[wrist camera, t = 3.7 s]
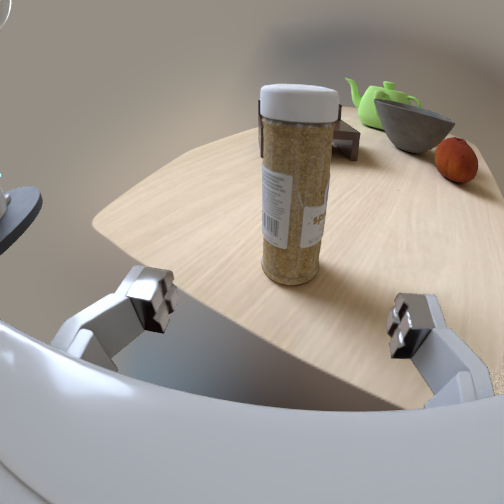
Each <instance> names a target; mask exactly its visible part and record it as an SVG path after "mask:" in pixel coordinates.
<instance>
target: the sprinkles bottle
mask: <svg viewBox="0 0 504 504" xmlns="http://www.w3.org/2000/svg"><path fill="white" fill-rule="evenodd" d="M260 96H261V97H260V114H261V115H262V116H263V119H262V122H263V125H264V128H263V137H264V142H263V144H264V147H263V148H264V151H263V156H264V159H263V163H262V232H263V235H264V237H263V240H264V241H263V257H262V261H261V265H262V269H263V271H264V273H265V274H266V275H267V276H268V277H269V278H270V279H272V280H273V281H275V282H278V283H282V284H286V285H298V284H302V283H304V282H308V281H309V280H311V279H312V278H313V277H314V276H315V275H316V273H317V272H318V269H319V261H318V260H319V253H320V247H321V238H322V236H323V231H324V224H325V215H326V206H327V198H328V190H329V181H330V164H331V152H332V142H333V141H332V140H333V131H334V127H335V125H336V124H335V123H334V121H336V120H337V119H338V111H339V94H338V92H337V91H335V90H333V89H328V88H324V87H319V86H311V85H299V84H274V85H266V86H263V87H262V88H261V95H260Z"/></svg>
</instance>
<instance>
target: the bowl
mask: <svg viewBox="0 0 504 504" xmlns="http://www.w3.org/2000/svg"><path fill="white" fill-rule="evenodd" d="M374 103H375V106H376V109H377V112H378V115H379V118H380V121H381V124H382V126H383V128H384V130H385V132H386V134H387V136H388V138H389V139H390V141H391V142H392V143H393V144H394V145H395V146H396V147H397V148H399V149H401V150H404V151H407V152H412V153H423V152H426V151H428V150H431V149H433V148H434V147H436V146H437V145H438V144H439V143H441V142H442V141H443V140H444V138H445V137H446V136H447V135H448V133H449V132H450V131H451V130H452V128H453V127H454V125H455V123H454V122H453V121H452V120H450V119H448V118H446V117H444V116H443V115H440V114H438V113H435V112H431V111H429V110H425V109H422V108H418V107H415V106H411V105H407V104H404V103H400V102H395V101H391V100H384V99H374Z"/></svg>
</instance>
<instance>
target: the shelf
mask: <svg viewBox="0 0 504 504" xmlns="http://www.w3.org/2000/svg"><path fill="white" fill-rule="evenodd" d="M258 105H259V106H258V115H259V117H258V118H259V119H258V120H259V146H260V154H261V157H264V156H263V151H264V148H263V147H264V144H263V142H264V137H263V128H264V125H263V122H262V119H263V116H262V115H261V114H260V100H258ZM341 108H342V105H340V104H339V111H338V119H337V120H336V121H334V123H335V124H336V125H335V127H334V131H333V140H332V141H333V143H334V144H335V145H336V146H337V147H338V148H339V149H340V150H341V151H342V152H343V153H344V154H345V155H346V156H347V157H348V158H349V159H350V160H351V161H357V156H358V148H359V139H360V132H358V131H357V130H355V129H354V128H352V127H351V126H350V125H348V124H347V123H345V122H344V121H342V120H341Z"/></svg>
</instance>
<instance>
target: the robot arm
mask: <svg viewBox="0 0 504 504" xmlns="http://www.w3.org/2000/svg"><path fill="white" fill-rule="evenodd" d="M10 7H11V0H0V30H1V29H2V27H3V26H4V24H5V22H6V20H7V17H8V15H9V12H10ZM0 176H1V175H0ZM10 200H11V197H10V195H9V194H6V195H4V193H3V191H2V189H1V186H0V219H1V218H2V217H3V215H4V214H5V212H6V210H7V204H8V203H9V202H10ZM173 280H174V276H173V272H172V271H170V270H165V269H158V268H152V267H144V266H138V265H135V266H133V267H132V269H131V270H130V271H129V273H128V274H127V276H126V277H125V279H124V280H123V282H122V283H121V285H120V286H119V288H118V289H117V291H116V292H115V294H112V293H111V294H109V295H107V296H106V297H104V298H103V299H101V300H99V301H97V302H96V303H94V304H92V305H90V306H89V307H87V308H85V309H84V310H82V311H80V312H79V313H77V314H75V315H74V316H72V317H70V318H69V319H67V320H65V321H64V323H63V324H62V326H61V328H60V329H59V331H58V332H57V334H56V335H55V337H54V339H53V340H52V342H51V343H50V345H48V344H46V343H44V342H42V341H40V340H38V339H36V338H34V337H32V336H30V335H28V334H26V333H24V332H22V331H20V330H18V329H17V328H15V327H13V326H11V325H9V324H8V323H6V322H4V321H2V320H1V319H0V504H504V394H501V395H497V396H495V394H494V389H493V385H492V381H491V377H490V374H489V370H488V367H487V366H486V365H485V364H484V363H483V361H482V360H481V359H480V358H479V357H478V356H477V355H476V354H475V353H474V352H473V351H472V350H471V349H470V348H469V346H468V345H467V344H466V343H465V342H464V341H463V340H462V339H461V338H460V337H459V336H458V335H457V334H456V333H455V332H454V331H453V330H452V329H451V328H447V324H446V322H445V319H444V316H443V313H442V310H441V307H440V304H439V302H438V299H437V297H436V296H435V295H434V294H413V293H398V294H397V296H396V298H395V300H394V301H395V306H394V307H392V308H391V309H390V311H389V313H388V316H387V321H386V328H387V334H388V335H389V336H390V337H391V338H392V339H391V341H390V342H389V347H390V353H391V358H397V359H411V361H412V362H413V364H414V365H415V367H416V368H417V370H418V371H419V372H420V374H421V375H422V377H423V378H424V380H425V381H426V383H427V384H428V386H429V387H430V389H431V391H432V392H433V394H434V396H433V397H432V398H431V399H430V400H429V401H428V402H427V403H426V404H425V405H424V408H421V409H410V410H398V411H377V412H332V411H330V412H329V411H311V410H296V409H285V408H275V407H267V406H259V405H252V404H245V403H239V402H233V401H226V400H221V399H216V398H211V397H206V396H201V395H196V394H192V393H188V392H183V391H179V390H175V389H171V388H167V387H163V386H160V385H156V384H152V383H149V382H146V381H142V380H139V379H136V378H132V377H129V376H126V375H123V374H120V373H117V371H118V369H117V367H116V365H115V364H114V362H113V361H112V360H111V358H112V357H113V356H114V355H116V354H117V353H118V352H119V351H120V350H122V349H123V348H124V347H125V346H127V345H128V344H129V343H130V342H131V341H133V340H134V339H135V338H136V337H137V336H139V335H140V334H141V333H142V332H143V331H144V330H148V331H152V332H158V333H164V332H165V330H166V328H167V326H168V323H169V321H170V319H169V316H168V315H169V314H170V313H172V312H173V311H174V310H175V308H176V306H177V301H178V291H177V287H176V286H175V285H174V284H173V283H172V282H173Z"/></svg>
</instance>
